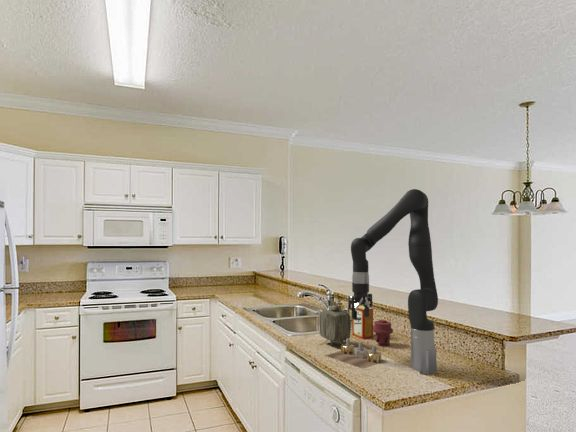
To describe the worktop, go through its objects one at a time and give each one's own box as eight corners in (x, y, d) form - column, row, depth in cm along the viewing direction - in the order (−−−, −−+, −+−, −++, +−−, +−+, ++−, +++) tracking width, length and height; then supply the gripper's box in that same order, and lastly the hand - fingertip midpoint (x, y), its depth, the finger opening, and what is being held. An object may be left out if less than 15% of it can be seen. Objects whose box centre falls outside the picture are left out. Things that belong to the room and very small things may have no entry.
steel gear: (359, 353, 181) (359, 346, 181) (370, 356, 176) (370, 349, 176) (350, 355, 177) (350, 349, 177) (361, 359, 172) (361, 352, 172)
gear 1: (357, 352, 182) (357, 341, 182) (348, 355, 178) (348, 344, 178) (347, 349, 186) (347, 338, 186) (338, 351, 182) (338, 341, 182)
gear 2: (382, 359, 172) (382, 352, 172) (379, 363, 166) (379, 356, 166) (368, 357, 175) (368, 350, 175) (365, 361, 169) (365, 354, 169)
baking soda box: (352, 335, 217) (352, 305, 218) (361, 333, 220) (361, 305, 221) (363, 339, 209) (363, 308, 209) (372, 337, 212) (372, 307, 212)
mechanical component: (396, 345, 198) (385, 349, 191) (380, 341, 205) (368, 344, 199) (396, 320, 198) (385, 323, 192) (380, 317, 206) (368, 320, 199)
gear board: (386, 363, 170) (386, 345, 171) (362, 371, 160) (362, 352, 160) (347, 351, 187) (347, 335, 187) (324, 357, 177) (324, 341, 177)
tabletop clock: (350, 349, 190) (350, 297, 191) (336, 352, 185) (336, 298, 187) (331, 342, 202) (332, 293, 204) (317, 344, 198) (318, 294, 199)
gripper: (364, 280, 185) (364, 314, 184) (343, 282, 176) (343, 318, 175) (377, 281, 179) (377, 317, 179) (356, 283, 170) (356, 321, 169)
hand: (360, 317), depth 177 cm, fingers open, 8 cm apart
